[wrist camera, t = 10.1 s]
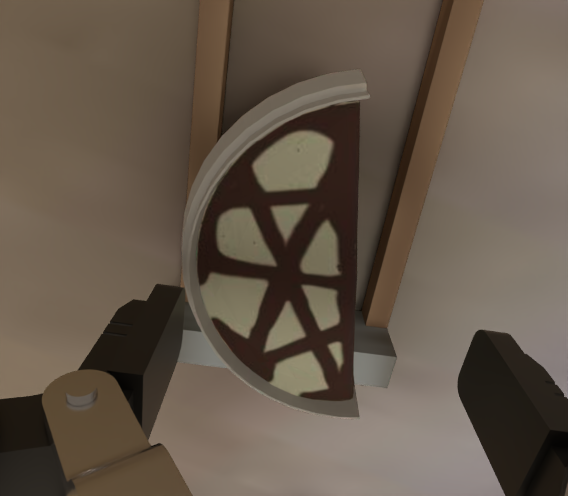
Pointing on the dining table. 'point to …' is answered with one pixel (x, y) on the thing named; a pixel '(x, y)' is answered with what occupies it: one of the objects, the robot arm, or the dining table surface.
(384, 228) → the guide channel
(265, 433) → the dining table surface
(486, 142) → the dining table surface
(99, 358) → the robot arm
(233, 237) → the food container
